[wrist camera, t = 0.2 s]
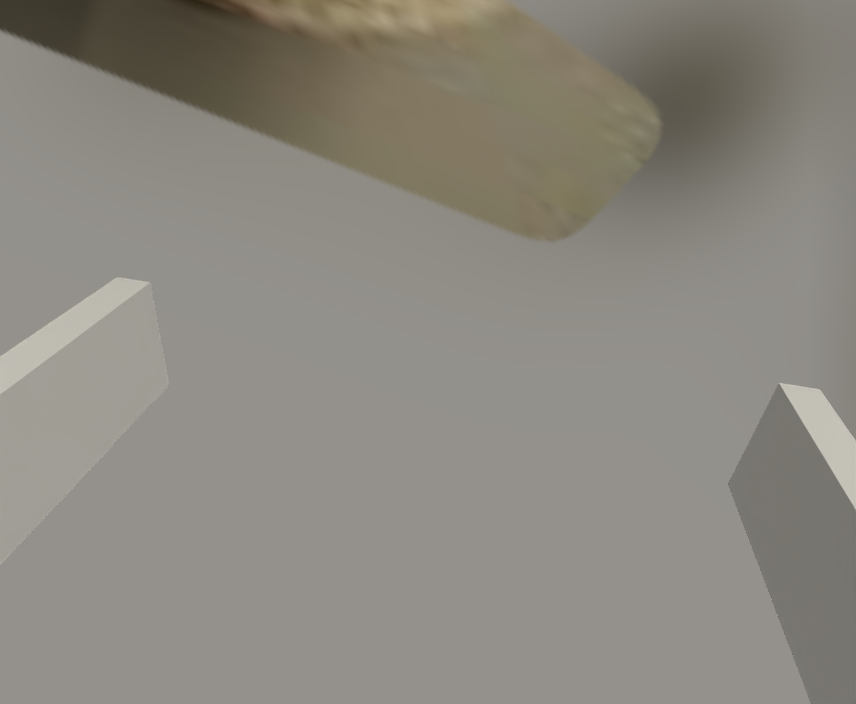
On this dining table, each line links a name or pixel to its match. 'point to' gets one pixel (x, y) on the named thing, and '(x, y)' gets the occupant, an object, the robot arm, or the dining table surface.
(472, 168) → the dining table surface
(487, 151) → the dining table surface
